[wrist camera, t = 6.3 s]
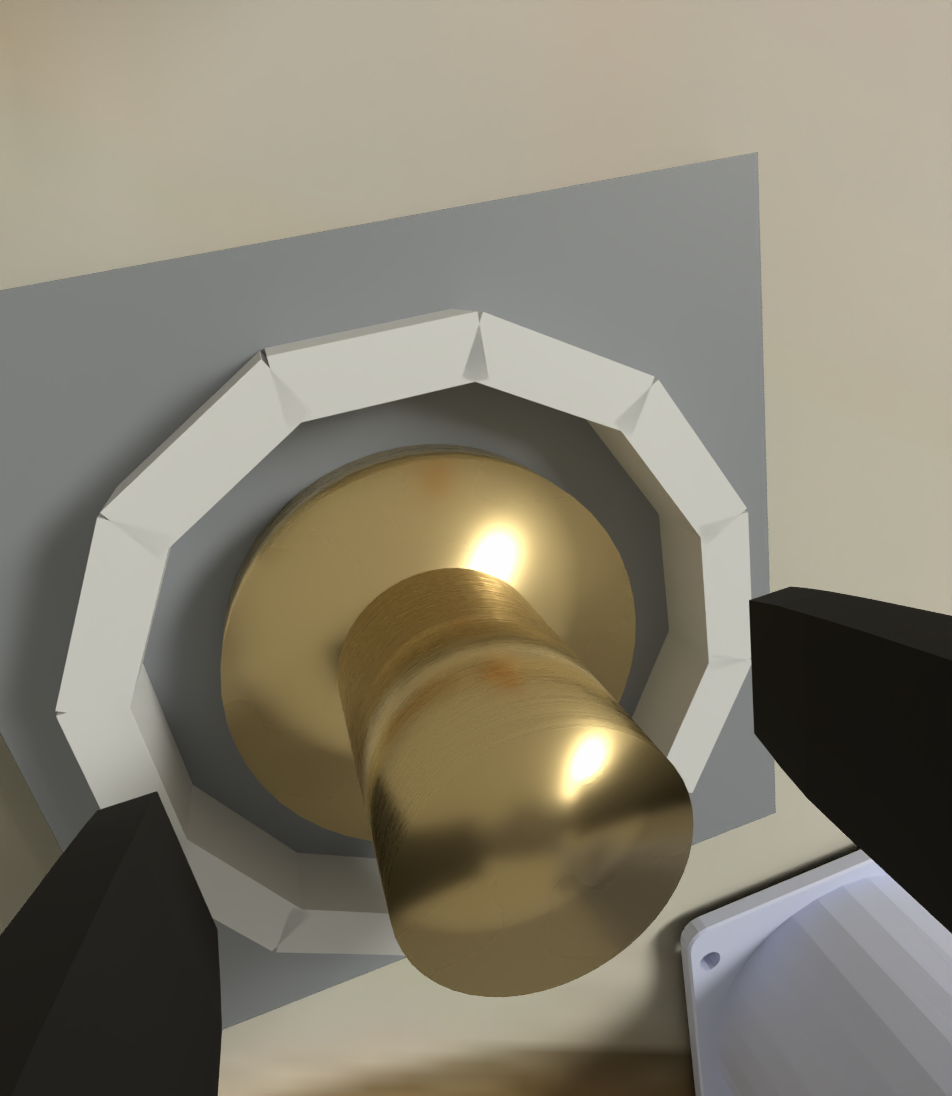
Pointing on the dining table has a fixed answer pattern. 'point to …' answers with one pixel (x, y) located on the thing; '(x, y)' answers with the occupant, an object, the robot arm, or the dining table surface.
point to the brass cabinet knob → (460, 711)
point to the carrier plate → (347, 435)
